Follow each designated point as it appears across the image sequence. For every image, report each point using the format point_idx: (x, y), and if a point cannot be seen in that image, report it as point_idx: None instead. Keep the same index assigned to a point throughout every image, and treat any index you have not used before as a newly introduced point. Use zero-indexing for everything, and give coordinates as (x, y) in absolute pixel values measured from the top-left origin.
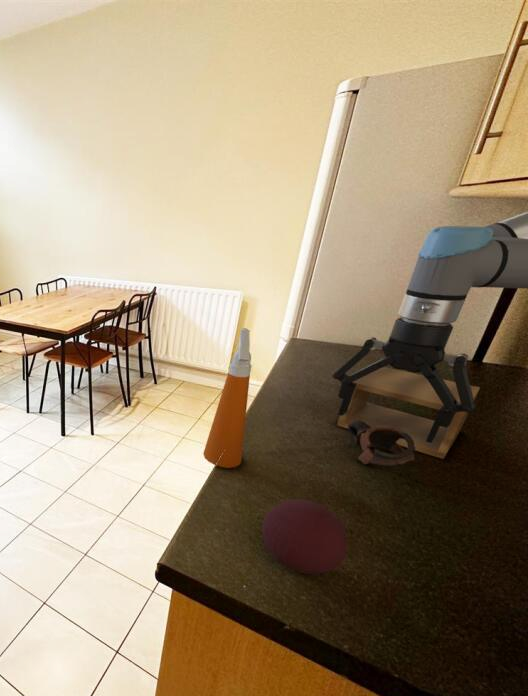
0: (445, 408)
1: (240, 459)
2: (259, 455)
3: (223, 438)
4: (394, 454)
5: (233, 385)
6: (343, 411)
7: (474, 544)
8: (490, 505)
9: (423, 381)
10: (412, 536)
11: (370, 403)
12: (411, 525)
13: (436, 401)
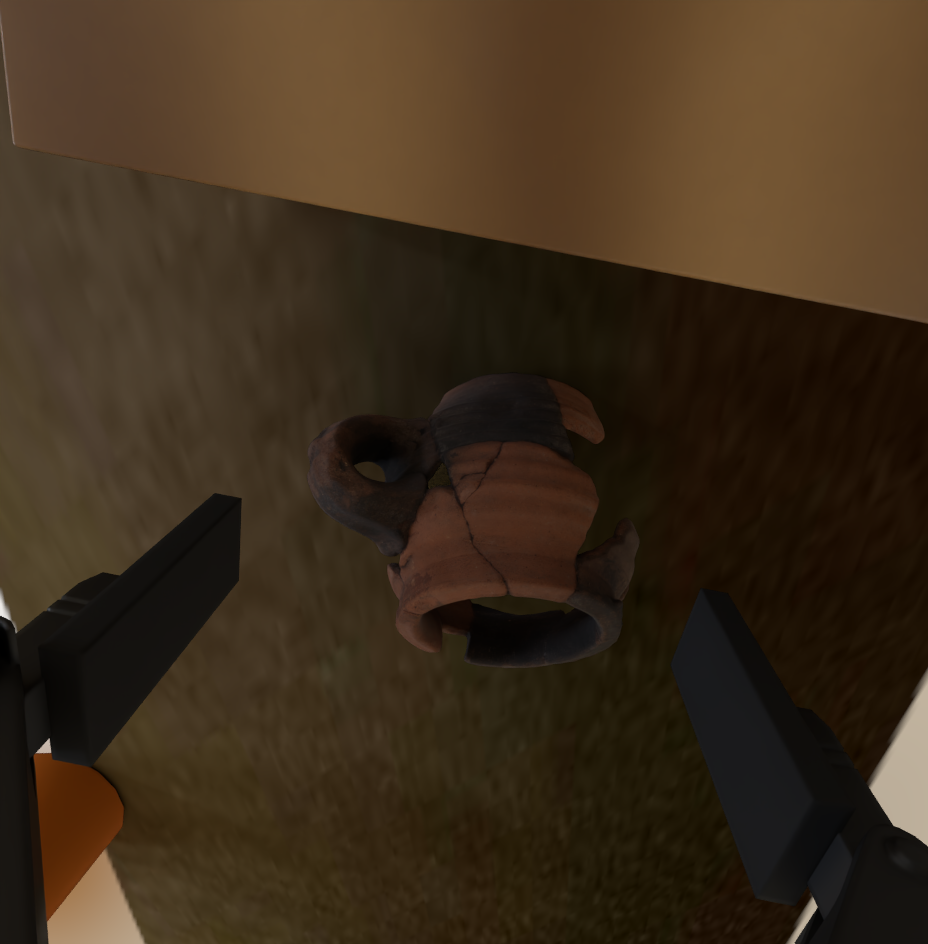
0: (815, 850)
1: (109, 827)
2: (137, 719)
3: None
4: (542, 664)
5: None
6: (221, 598)
7: None
8: (868, 622)
9: None
10: (596, 881)
11: None
12: (598, 843)
13: (862, 245)
